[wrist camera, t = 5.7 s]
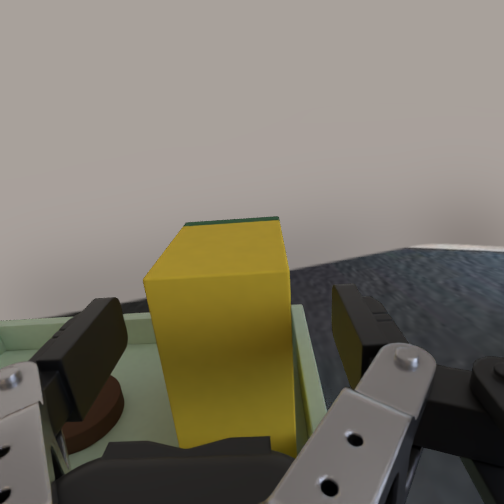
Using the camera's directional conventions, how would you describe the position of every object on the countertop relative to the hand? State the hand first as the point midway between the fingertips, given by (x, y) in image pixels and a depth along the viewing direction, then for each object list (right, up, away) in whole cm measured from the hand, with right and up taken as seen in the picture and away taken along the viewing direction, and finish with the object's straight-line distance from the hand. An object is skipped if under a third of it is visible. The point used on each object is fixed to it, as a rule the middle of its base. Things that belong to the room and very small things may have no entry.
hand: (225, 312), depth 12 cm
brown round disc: (-8, -6, +5) cm, 11 cm away
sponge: (+1, -6, +4) cm, 7 cm away
